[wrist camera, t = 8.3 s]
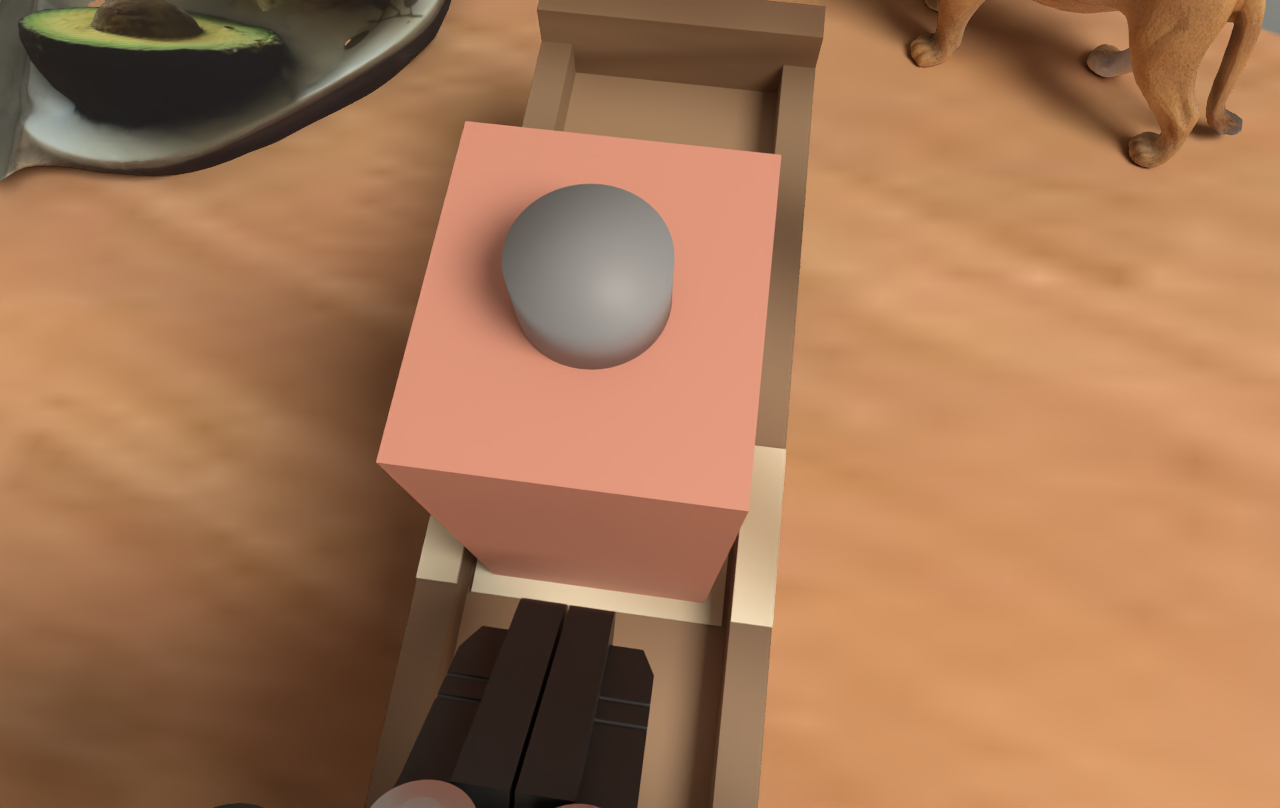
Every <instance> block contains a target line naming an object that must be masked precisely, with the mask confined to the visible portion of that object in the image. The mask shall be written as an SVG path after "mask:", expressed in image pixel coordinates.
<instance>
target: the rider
mask: <svg viewBox="0 0 1280 808" xmlns="http://www.w3.org/2000/svg"><path fill="white" fill-rule="evenodd" d="M780 165H781V155H778V154H769V153H759V152H750V151H740V150H731V149H722V148H712V147H703V146H694V145H684V144H675V143H666V142H656V141H647V140H638V139H628V138H619V137H609V136H600V135H591V134H581V133H572V132H563V131H553V130H544V129H535V128H525V127H516V126H507V125H497V124H488V123H479V122H469V121H465V125H464V128H463V132H462V136H461V140H460V144H459V147H458V151H457V155H456V159H455V163H454V167H453V170H452V174H451V178H450V182H449V186H448V189H447V193H446V197H445V201H444V205H443V208H442V212H441V216H440V220H439V224H438V228H437V231H436V235H435V239H434V243H433V247H432V250H431V254H430V258H429V262H428V266H427V269H426V273H425V277H424V281H423V285H422V289H421V292H420V296H419V300H418V304H417V308H416V311H415V315H414V319H413V323H412V327H411V330H410V334H409V338H408V342H407V346H406V350H405V353H404V357H403V361H402V365H401V369H400V372H399V376H398V380H397V384H396V388H395V391H394V395H393V399H392V403H391V407H390V410H389V414H388V418H387V422H386V426H385V430H384V433H383V437H382V441H381V445H380V449H379V452H378V456H377V460H376V463H377V464H378V465H379V466H380V467H381V468H382V469H383V470H385V471H386V472H387V473H388V474H389V475H390V476H391V477H392V478H393V479H394V480H395V481H396V482H397V483H398V484H399V485H400V486H401V487H402V488H403V489H405V490H406V491H407V492H408V493H409V494H410V495H411V496H412V497H413V498H414V499H415V500H416V501H417V502H418V503H419V504H420V505H421V506H422V507H423V508H425V509H426V510H427V511H428V512H429V513H430V514H431V515H432V516H433V517H434V518H435V519H436V520H437V521H438V522H439V523H440V524H441V525H442V526H444V527H445V528H446V529H447V530H448V531H449V532H450V533H451V534H452V535H453V536H454V537H455V538H456V539H457V540H458V541H459V542H460V543H461V544H462V545H464V546H465V547H466V548H467V549H468V550H469V551H470V552H471V553H472V554H473V555H474V556H475V557H476V558H477V559H478V560H479V561H480V562H481V563H482V564H484V565H485V566H486V567H487V568H488V569H489V570H490V571H491V572H492V573H493V574H495V575H502V576H509V577H517V578H524V579H531V580H538V581H545V582H553V583H560V584H567V585H574V586H582V587H589V588H596V589H603V590H611V591H618V592H625V593H632V594H640V595H647V596H654V597H661V598H668V599H676V600H683V601H690V602H697V603H704V602H705V600H706V598H707V596H708V594H709V592H710V590H711V588H712V586H713V584H714V582H715V580H716V578H717V576H718V574H719V571H720V569H721V567H722V565H723V563H724V561H725V559H726V557H727V555H728V553H729V551H730V549H731V547H732V545H733V543H734V541H735V539H736V537H737V535H738V532H739V530H740V528H741V526H742V524H743V522H744V520H745V518H746V516H747V514H748V512H749V503H750V492H751V482H752V471H753V460H754V449H755V438H756V427H757V416H758V405H759V394H760V383H761V373H762V362H763V351H764V340H765V329H766V318H767V307H768V296H769V285H770V274H771V264H772V253H773V242H774V231H775V220H776V209H777V198H778V187H779V176H780Z"/></svg>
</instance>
